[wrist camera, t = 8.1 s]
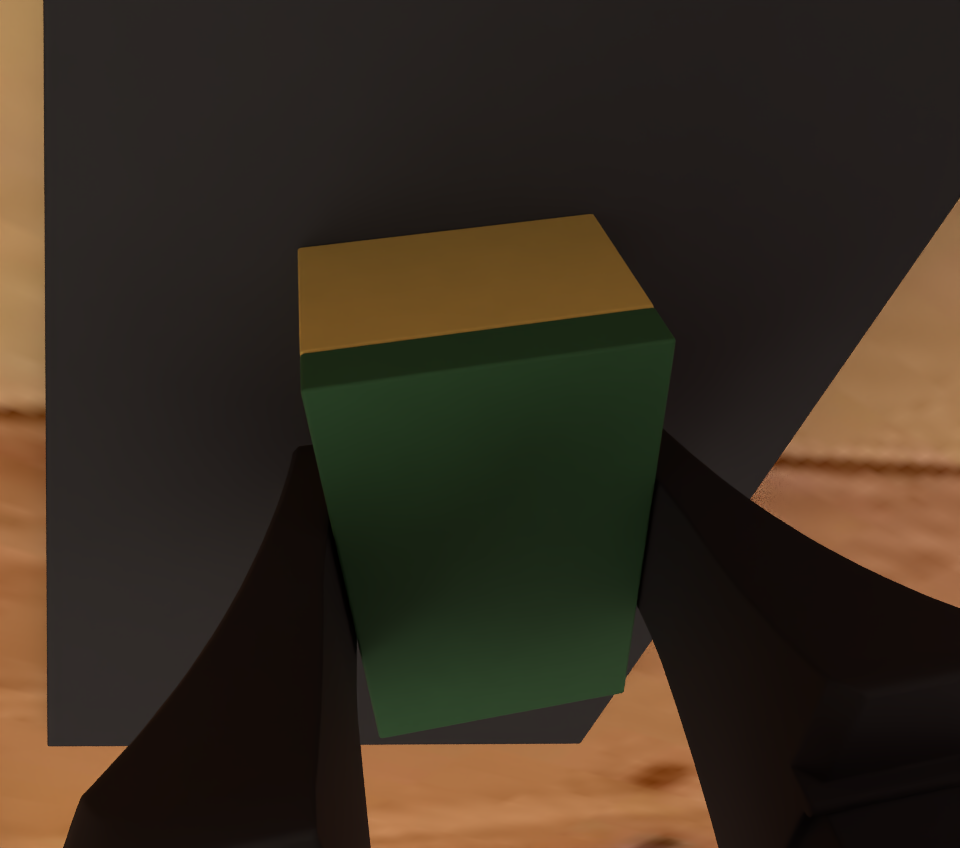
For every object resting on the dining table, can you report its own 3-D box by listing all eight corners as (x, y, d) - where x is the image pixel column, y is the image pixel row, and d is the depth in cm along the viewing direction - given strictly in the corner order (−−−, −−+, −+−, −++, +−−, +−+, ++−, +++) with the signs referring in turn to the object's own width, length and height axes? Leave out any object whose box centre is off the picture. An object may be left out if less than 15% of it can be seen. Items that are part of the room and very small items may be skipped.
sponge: (573, 549, 18) (624, 693, 15) (364, 583, 17) (379, 740, 14) (593, 212, 13) (677, 339, 10) (296, 247, 12) (300, 392, 9)
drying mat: (576, 731, 24) (580, 744, 23) (51, 731, 19) (46, 747, 19) (1059, 23, 12) (1077, 30, 12) (49, -397, 8) (39, -404, 7)
